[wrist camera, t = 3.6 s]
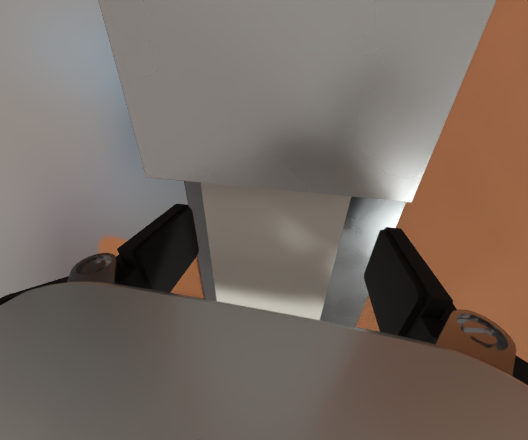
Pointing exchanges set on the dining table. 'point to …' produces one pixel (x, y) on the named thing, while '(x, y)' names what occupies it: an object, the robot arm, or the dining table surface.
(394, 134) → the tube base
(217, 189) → the white rectangular stick
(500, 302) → the dining table surface
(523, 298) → the dining table surface
